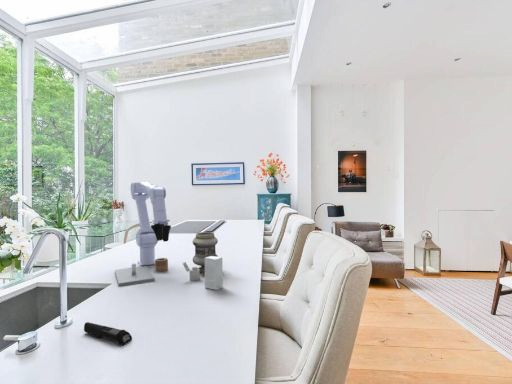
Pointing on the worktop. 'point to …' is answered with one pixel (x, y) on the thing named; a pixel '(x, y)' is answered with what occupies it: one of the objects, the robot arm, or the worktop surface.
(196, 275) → the lighter
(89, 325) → the electric trimmer
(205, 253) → the apothecary jar
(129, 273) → the grey peg base
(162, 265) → the walnut bead
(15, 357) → the worktop surface
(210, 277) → the skincare box
